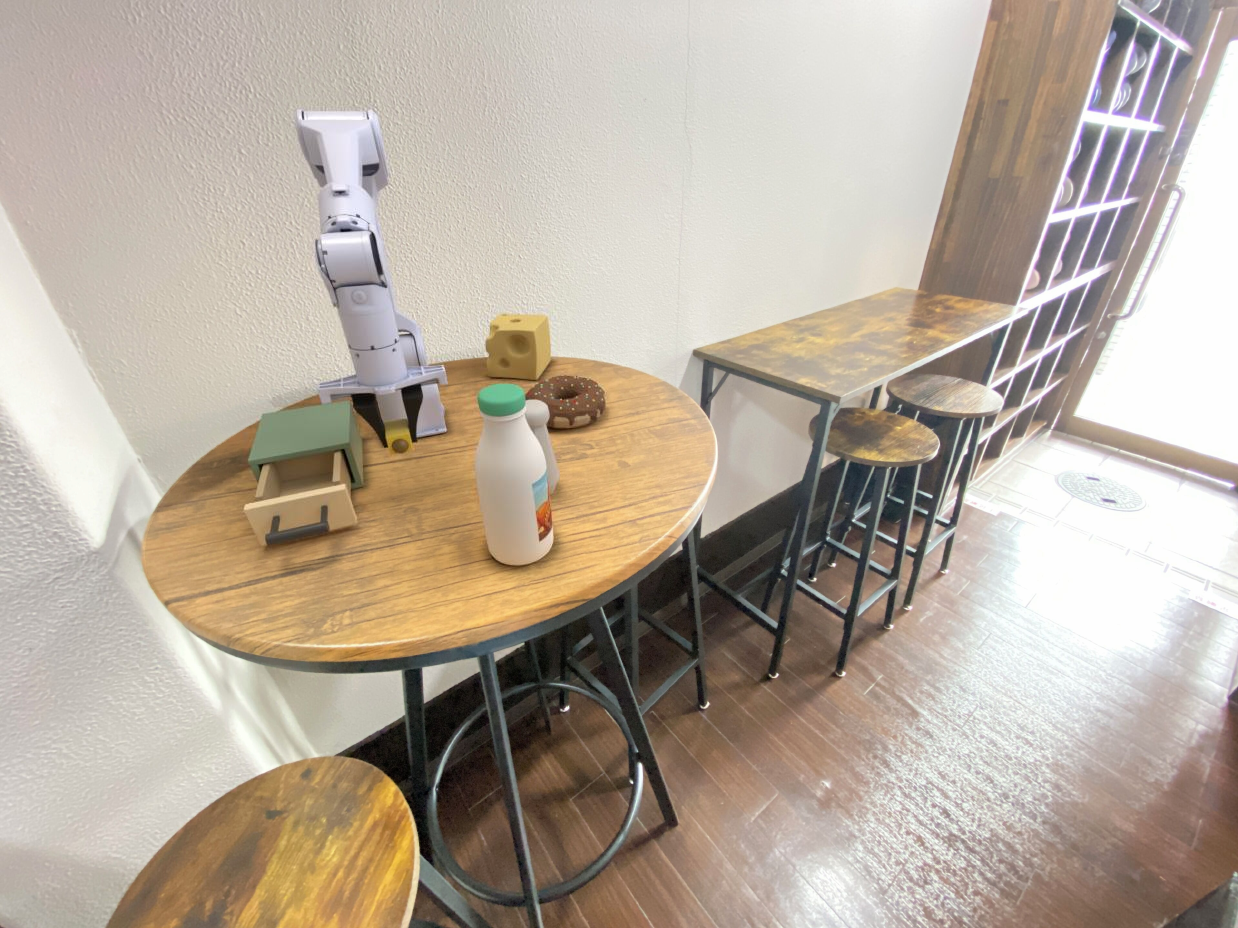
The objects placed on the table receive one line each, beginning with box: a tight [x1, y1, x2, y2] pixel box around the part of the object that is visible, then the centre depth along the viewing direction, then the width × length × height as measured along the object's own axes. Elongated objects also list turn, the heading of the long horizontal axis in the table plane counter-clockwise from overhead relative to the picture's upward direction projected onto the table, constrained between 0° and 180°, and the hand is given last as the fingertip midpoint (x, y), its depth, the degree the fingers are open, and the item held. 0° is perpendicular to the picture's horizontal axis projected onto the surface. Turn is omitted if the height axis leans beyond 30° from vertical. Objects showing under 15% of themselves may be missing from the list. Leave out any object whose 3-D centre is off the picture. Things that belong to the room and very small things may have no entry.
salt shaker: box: [524, 400, 561, 496], centre depth 69 cm, size 6×6×13 cm
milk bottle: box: [474, 382, 554, 566], centre depth 58 cm, size 8×8×20 cm
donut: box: [525, 374, 607, 430], centre depth 90 cm, size 14×14×5 cm
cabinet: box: [247, 399, 364, 490], centre depth 75 cm, size 14×12×7 cm
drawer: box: [243, 449, 358, 547], centre depth 65 cm, size 17×10×5 cm, turn 23°
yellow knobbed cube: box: [384, 418, 414, 456], centre depth 69 cm, size 3×6×3 cm, turn 23°
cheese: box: [484, 312, 552, 381], centre depth 105 cm, size 10×11×10 cm
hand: (400, 441), depth 70 cm, fingers closed on yellow knobbed cube, 3 cm apart
